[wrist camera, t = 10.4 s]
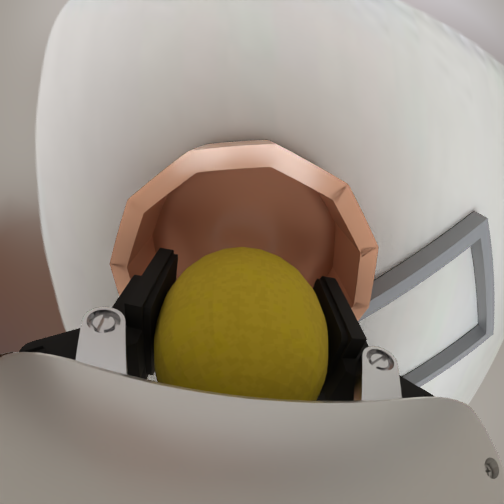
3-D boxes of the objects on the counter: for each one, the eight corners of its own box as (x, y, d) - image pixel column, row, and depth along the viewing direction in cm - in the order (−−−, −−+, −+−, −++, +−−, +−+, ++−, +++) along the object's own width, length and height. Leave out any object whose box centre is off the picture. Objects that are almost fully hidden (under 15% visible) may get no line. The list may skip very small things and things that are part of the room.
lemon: (298, 325, 14) (328, 473, 7) (187, 324, 14) (153, 470, 6) (310, 219, 12) (394, 359, 4) (176, 218, 12) (84, 354, 4)
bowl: (371, 268, 16) (403, 310, 12) (223, 349, 19) (218, 400, 15) (275, 99, 12) (288, 86, 8) (110, 221, 15) (70, 254, 11)
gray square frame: (485, 324, 19) (493, 333, 18) (375, 396, 22) (380, 408, 21) (474, 210, 15) (487, 218, 13) (321, 311, 18) (326, 325, 16)
